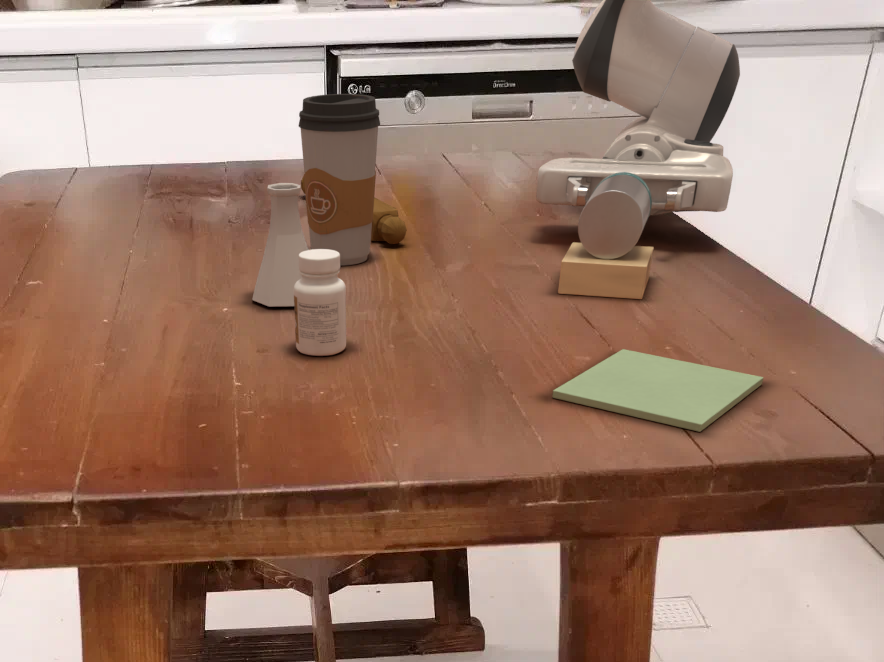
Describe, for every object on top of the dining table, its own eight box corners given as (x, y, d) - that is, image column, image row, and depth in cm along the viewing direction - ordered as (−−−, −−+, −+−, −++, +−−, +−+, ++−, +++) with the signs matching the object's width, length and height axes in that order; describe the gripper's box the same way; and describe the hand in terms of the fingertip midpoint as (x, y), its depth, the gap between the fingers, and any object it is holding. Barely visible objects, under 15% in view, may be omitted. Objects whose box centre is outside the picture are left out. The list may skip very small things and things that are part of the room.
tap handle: (321, 169, 143) (411, 216, 120) (321, 195, 145) (410, 246, 122) (298, 171, 142) (385, 219, 120) (299, 197, 144) (385, 249, 122)
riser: (568, 273, 112) (572, 242, 111) (648, 278, 110) (653, 246, 109) (557, 293, 107) (561, 261, 105) (641, 299, 105) (646, 266, 103)
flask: (242, 293, 109) (236, 182, 103) (312, 285, 111) (309, 175, 105) (262, 313, 104) (256, 197, 98) (334, 304, 105) (333, 190, 99)
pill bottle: (309, 338, 98) (307, 245, 93) (354, 344, 96) (354, 249, 91) (286, 353, 94) (283, 257, 90) (332, 359, 93) (331, 262, 88)
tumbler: (586, 235, 113) (594, 169, 109) (646, 239, 111) (657, 172, 107) (573, 258, 106) (581, 188, 102) (637, 262, 104) (648, 191, 101)
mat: (762, 384, 86) (764, 376, 86) (700, 432, 79) (701, 424, 78) (621, 355, 92) (622, 348, 92) (551, 397, 85) (552, 390, 84)
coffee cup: (286, 260, 119) (280, 101, 109) (336, 245, 124) (334, 91, 114) (345, 272, 114) (344, 107, 105) (394, 256, 119) (397, 96, 110)
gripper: (548, 139, 124) (527, 161, 113) (738, 144, 118) (734, 168, 108) (543, 200, 128) (521, 227, 117) (726, 208, 122) (721, 237, 112)
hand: (625, 199), depth 113 cm, fingers open, 8 cm apart
